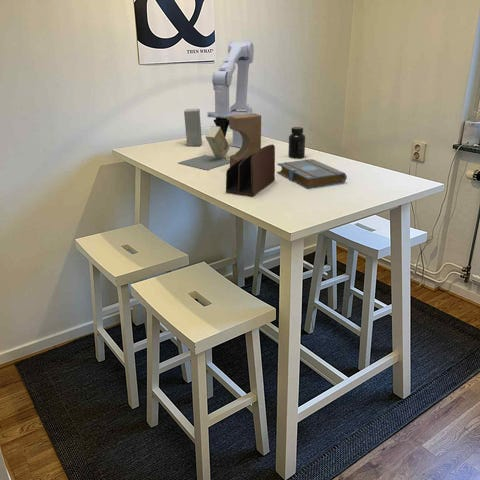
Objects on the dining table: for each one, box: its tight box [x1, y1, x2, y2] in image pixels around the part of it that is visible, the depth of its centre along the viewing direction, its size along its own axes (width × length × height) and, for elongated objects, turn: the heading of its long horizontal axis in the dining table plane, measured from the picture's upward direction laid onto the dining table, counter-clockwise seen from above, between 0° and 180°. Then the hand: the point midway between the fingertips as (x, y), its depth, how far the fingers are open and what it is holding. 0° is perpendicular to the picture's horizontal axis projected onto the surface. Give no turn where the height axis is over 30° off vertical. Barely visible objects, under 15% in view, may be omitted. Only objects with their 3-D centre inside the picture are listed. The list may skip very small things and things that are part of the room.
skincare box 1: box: [183, 108, 203, 147], centre depth 220 cm, size 8×7×16 cm
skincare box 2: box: [204, 125, 231, 159], centre depth 195 cm, size 6×4×12 cm
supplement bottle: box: [288, 126, 306, 159], centre depth 200 cm, size 7×7×12 cm
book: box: [276, 158, 348, 190], centre depth 174 cm, size 21×16×5 cm
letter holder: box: [225, 144, 276, 198], centre depth 163 cm, size 10×20×14 cm, turn 155°
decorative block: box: [228, 112, 262, 167], centre depth 183 cm, size 11×6×20 cm, turn 117°
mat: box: [177, 154, 230, 171], centre depth 194 cm, size 16×16×1 cm
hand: (222, 136), depth 198 cm, fingers closed
